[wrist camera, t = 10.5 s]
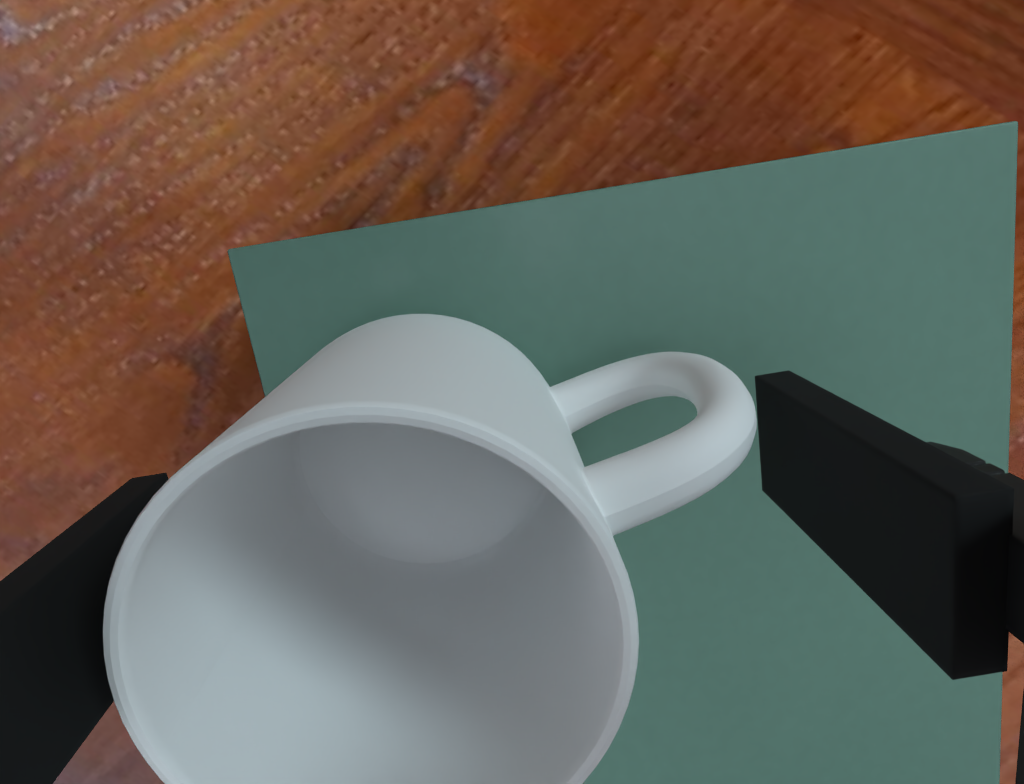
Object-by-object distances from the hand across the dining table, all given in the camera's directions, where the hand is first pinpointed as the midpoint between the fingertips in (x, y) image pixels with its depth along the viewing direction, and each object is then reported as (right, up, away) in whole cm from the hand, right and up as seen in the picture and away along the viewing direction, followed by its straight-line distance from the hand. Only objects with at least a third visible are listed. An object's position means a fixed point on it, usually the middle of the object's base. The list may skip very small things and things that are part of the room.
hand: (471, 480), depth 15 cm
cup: (0, +1, +5) cm, 5 cm away
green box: (+6, -3, +16) cm, 17 cm away
